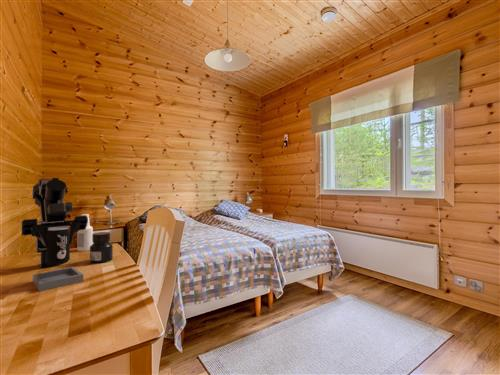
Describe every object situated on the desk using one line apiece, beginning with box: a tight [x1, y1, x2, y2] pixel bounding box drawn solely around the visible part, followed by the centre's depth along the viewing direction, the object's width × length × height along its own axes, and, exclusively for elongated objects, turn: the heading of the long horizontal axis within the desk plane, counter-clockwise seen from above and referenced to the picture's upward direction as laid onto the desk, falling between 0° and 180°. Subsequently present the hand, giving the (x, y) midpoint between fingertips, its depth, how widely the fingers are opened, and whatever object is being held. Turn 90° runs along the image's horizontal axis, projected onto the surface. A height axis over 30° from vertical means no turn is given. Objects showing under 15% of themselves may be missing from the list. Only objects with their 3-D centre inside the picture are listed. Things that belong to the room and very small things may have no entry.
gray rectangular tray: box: [32, 266, 84, 292], centre depth 91 cm, size 12×12×2 cm
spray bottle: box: [76, 213, 94, 252], centre depth 134 cm, size 7×7×18 cm
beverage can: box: [46, 226, 71, 266], centre depth 91 cm, size 7×7×12 cm
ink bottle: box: [89, 231, 114, 264], centre depth 116 cm, size 10×9×12 cm
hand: (58, 244), depth 90 cm, fingers closed on beverage can, 6 cm apart
